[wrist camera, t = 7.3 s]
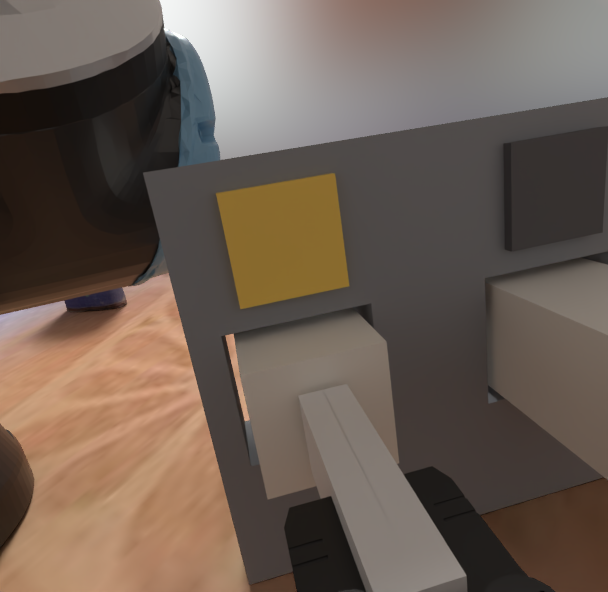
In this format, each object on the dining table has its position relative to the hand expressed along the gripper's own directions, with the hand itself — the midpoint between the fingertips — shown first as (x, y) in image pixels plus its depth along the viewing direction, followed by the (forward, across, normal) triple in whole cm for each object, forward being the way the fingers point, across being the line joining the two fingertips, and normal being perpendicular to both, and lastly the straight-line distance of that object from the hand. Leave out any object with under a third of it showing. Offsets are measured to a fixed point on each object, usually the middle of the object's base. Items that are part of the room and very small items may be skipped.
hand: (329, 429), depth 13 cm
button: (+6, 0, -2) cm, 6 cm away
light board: (+6, +9, -8) cm, 14 cm away
